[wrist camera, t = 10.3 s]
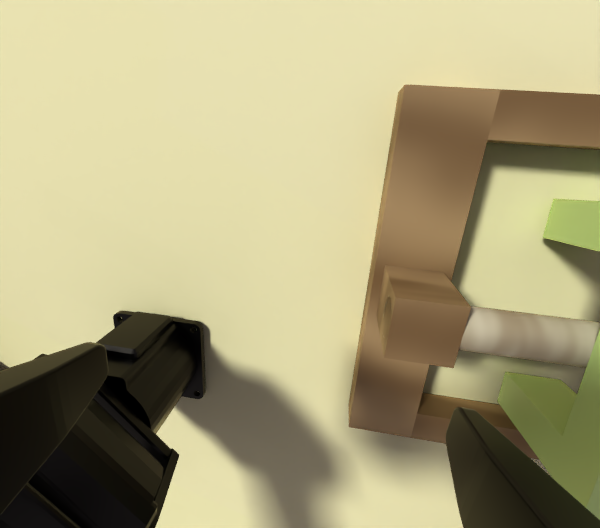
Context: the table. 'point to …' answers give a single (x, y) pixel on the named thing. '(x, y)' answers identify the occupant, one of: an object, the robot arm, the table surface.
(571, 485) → the green bridge block
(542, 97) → the wooden peg frame
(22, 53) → the table surface
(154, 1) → the table surface
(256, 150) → the table surface
